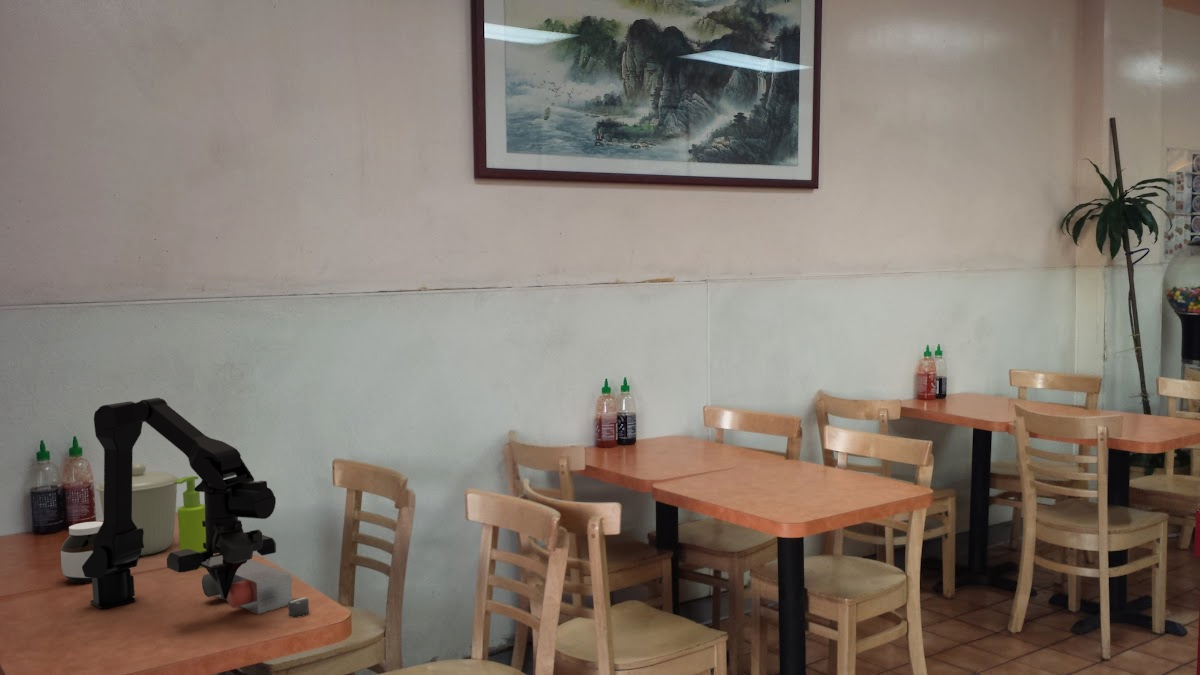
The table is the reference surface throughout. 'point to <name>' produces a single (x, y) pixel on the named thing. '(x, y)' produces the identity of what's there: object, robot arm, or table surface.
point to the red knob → (240, 593)
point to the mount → (264, 586)
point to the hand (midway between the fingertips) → (224, 598)
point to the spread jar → (78, 550)
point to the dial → (298, 607)
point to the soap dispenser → (191, 518)
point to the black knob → (209, 586)
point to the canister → (151, 506)
